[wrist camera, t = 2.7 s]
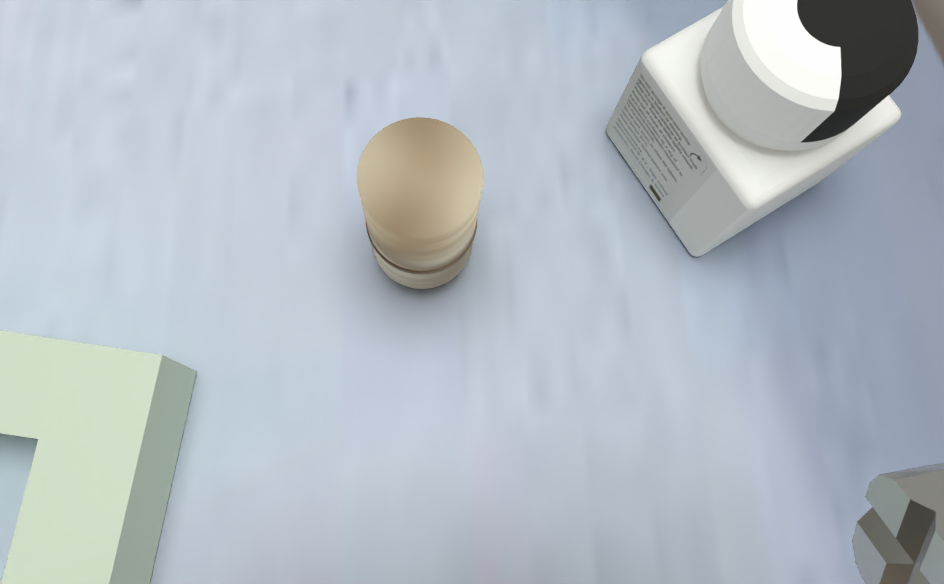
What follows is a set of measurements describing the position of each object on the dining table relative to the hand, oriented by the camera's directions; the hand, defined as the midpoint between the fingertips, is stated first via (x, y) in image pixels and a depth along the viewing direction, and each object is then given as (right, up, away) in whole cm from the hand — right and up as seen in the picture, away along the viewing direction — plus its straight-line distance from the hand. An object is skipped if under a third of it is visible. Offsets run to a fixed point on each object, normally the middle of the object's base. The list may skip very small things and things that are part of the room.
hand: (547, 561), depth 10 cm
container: (+11, +10, +31) cm, 35 cm away
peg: (-3, +5, +29) cm, 30 cm away
